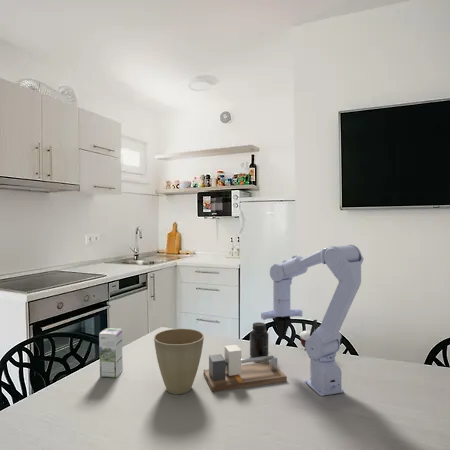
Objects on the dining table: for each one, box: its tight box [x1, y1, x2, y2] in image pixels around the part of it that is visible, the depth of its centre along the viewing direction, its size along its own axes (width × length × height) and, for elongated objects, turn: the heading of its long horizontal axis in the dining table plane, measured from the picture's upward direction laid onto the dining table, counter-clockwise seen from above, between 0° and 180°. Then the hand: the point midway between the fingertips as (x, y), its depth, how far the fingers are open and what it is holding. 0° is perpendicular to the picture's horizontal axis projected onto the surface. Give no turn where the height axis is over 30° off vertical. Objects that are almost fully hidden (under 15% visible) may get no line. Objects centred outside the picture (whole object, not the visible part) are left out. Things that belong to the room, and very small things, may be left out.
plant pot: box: [153, 328, 205, 395], centre depth 108 cm, size 15×15×16 cm
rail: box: [225, 355, 278, 371], centre depth 115 cm, size 2×20×5 cm, turn 106°
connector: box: [208, 353, 225, 381], centre depth 112 cm, size 5×4×6 cm
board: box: [203, 361, 288, 393], centre depth 114 cm, size 12×24×2 cm, turn 106°
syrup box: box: [98, 327, 124, 378], centre depth 117 cm, size 6×6×14 cm
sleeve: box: [224, 344, 242, 376], centre depth 113 cm, size 5×4×8 cm
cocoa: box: [299, 319, 318, 349], centre depth 141 cm, size 10×6×12 cm, turn 177°
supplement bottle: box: [249, 321, 269, 358], centre depth 132 cm, size 7×7×12 cm
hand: (281, 338), depth 122 cm, fingers closed
